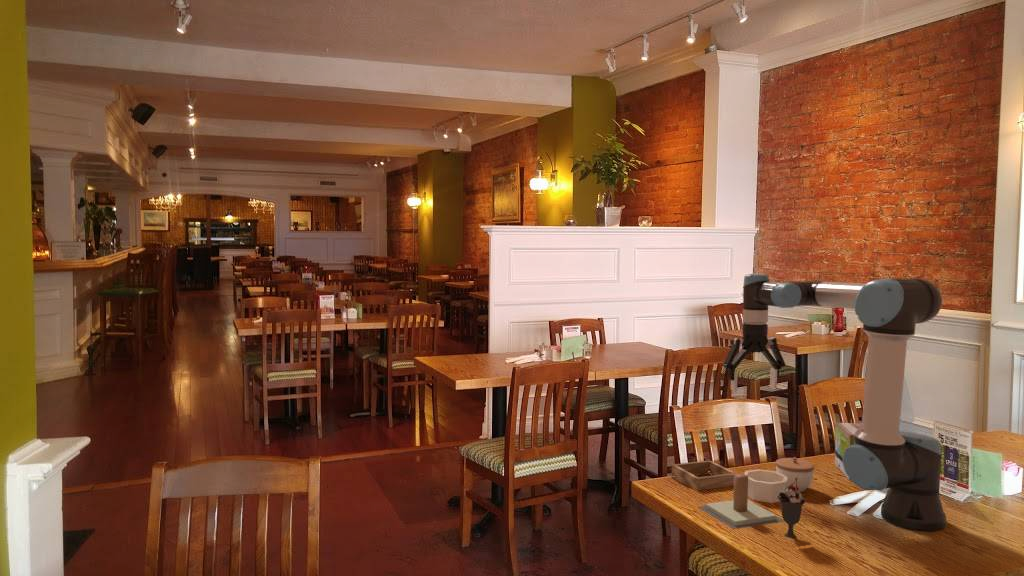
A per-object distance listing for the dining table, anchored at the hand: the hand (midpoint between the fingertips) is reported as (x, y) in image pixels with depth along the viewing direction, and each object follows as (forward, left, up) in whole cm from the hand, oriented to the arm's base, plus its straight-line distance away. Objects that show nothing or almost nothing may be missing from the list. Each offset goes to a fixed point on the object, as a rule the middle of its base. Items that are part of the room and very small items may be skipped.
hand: (753, 389), depth 227 cm
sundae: (-45, +23, -27) cm, 57 cm away
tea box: (-11, -32, -27) cm, 43 cm away
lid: (-29, +26, -26) cm, 47 cm away
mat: (-29, +26, -27) cm, 47 cm away
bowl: (-19, +10, -27) cm, 34 cm away
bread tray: (-3, +20, -27) cm, 33 cm away
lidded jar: (-16, -3, -27) cm, 32 cm away
